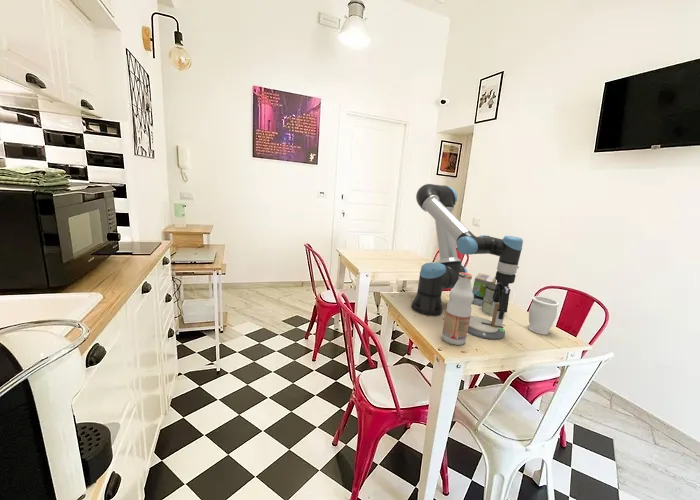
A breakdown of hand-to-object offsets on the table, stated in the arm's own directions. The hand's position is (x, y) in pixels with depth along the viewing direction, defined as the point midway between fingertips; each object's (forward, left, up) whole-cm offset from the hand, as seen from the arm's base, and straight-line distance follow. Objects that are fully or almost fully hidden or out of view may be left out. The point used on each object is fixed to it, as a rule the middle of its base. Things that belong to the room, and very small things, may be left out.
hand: (495, 320), depth 136 cm
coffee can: (+4, +24, -5) cm, 25 cm away
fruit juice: (-18, -17, -5) cm, 26 cm away
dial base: (-5, 0, -5) cm, 8 cm away
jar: (+22, +11, -5) cm, 25 cm away
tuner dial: (-5, 0, -4) cm, 6 cm away
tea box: (+1, +39, -5) cm, 39 cm away
